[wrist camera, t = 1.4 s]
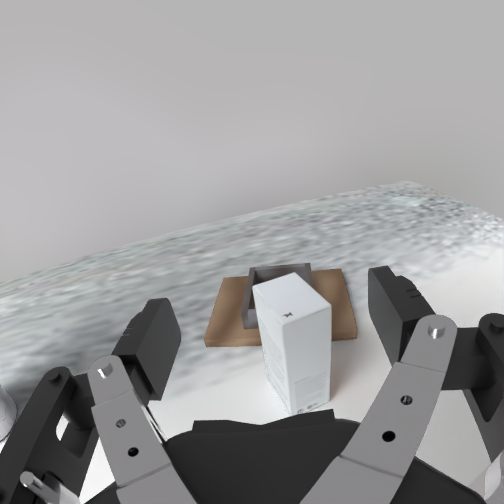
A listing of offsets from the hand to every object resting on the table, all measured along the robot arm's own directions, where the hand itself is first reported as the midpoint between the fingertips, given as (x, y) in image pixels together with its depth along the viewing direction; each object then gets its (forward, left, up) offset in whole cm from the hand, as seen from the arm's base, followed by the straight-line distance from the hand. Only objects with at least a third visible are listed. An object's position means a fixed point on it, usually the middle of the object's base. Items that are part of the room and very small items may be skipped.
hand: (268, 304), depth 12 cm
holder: (-2, +24, -19) cm, 30 cm away
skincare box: (0, +10, -19) cm, 21 cm away
